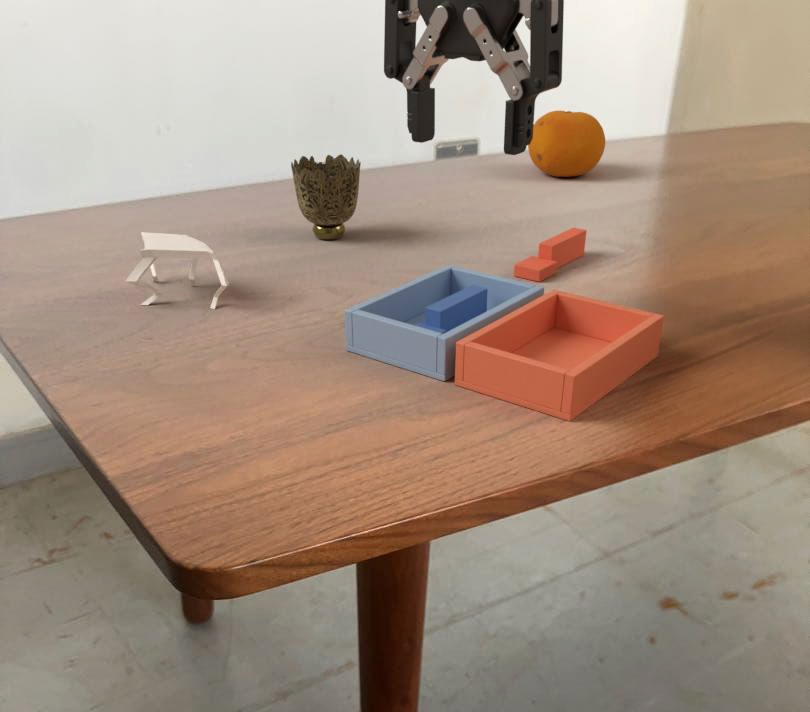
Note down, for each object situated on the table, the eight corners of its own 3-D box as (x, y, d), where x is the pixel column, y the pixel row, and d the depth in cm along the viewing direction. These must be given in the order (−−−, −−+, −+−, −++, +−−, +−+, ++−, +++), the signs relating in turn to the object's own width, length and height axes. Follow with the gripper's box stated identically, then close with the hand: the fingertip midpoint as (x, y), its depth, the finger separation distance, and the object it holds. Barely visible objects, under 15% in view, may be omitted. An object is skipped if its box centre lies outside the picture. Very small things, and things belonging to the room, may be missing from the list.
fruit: (603, 167, 130) (610, 105, 126) (599, 184, 122) (606, 119, 117) (530, 163, 132) (534, 102, 128) (520, 180, 124) (525, 116, 119)
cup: (358, 225, 106) (356, 152, 102) (367, 244, 100) (365, 167, 96) (293, 229, 105) (288, 154, 101) (298, 248, 99) (293, 170, 95)
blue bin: (541, 325, 81) (544, 286, 79) (444, 381, 71) (445, 339, 69) (447, 301, 86) (448, 264, 84) (345, 350, 76) (344, 309, 74)
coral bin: (657, 356, 75) (664, 315, 73) (569, 421, 66) (575, 376, 64) (550, 328, 80) (554, 289, 78) (454, 384, 71) (455, 341, 69)
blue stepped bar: (465, 311, 82) (466, 283, 81) (493, 318, 81) (494, 290, 79) (393, 347, 75) (392, 317, 74) (422, 356, 74) (422, 325, 72)
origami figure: (103, 303, 85) (93, 250, 83) (156, 275, 92) (148, 225, 89) (214, 321, 82) (207, 266, 79) (261, 291, 88) (256, 239, 85)
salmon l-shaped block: (565, 250, 98) (567, 226, 97) (590, 256, 97) (592, 231, 95) (513, 276, 92) (515, 250, 90) (539, 282, 90) (541, 255, 89)
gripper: (594, -112, 61) (572, 149, 70) (420, -107, 68) (421, 129, 77) (537, -113, 56) (521, 168, 65) (356, -107, 63) (365, 145, 72)
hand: (467, 146), depth 71 cm, fingers open, 8 cm apart
